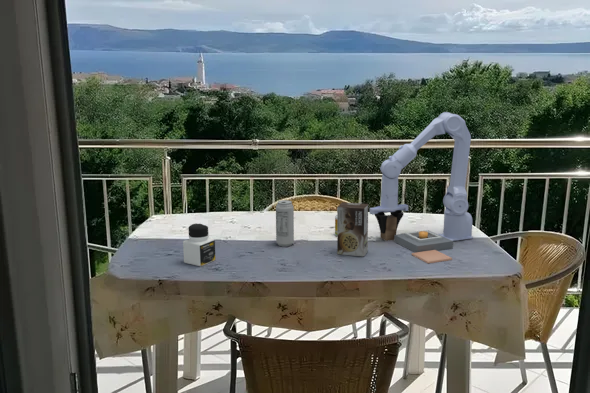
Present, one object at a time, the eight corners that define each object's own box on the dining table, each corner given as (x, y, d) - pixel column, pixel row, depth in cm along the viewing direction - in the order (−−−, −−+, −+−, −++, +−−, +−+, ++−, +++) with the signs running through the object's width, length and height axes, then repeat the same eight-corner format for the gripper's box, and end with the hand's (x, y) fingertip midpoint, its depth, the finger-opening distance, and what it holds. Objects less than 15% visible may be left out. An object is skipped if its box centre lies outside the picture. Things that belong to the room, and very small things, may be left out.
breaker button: (424, 237, 196) (424, 230, 195) (429, 239, 193) (429, 232, 192) (416, 238, 194) (417, 231, 194) (421, 241, 192) (422, 233, 191)
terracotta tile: (434, 251, 187) (434, 249, 187) (452, 259, 179) (452, 258, 179) (411, 254, 184) (411, 253, 184) (428, 263, 176) (428, 261, 176)
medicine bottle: (200, 267, 174) (199, 229, 171) (183, 262, 177) (181, 225, 175) (216, 260, 180) (214, 223, 177) (198, 256, 183) (197, 220, 181)
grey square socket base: (427, 237, 203) (428, 227, 202) (452, 248, 190) (453, 238, 190) (394, 241, 198) (394, 231, 197) (417, 253, 185) (417, 243, 184)
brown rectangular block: (389, 236, 204) (390, 214, 202) (396, 239, 200) (396, 217, 199) (380, 237, 202) (380, 215, 201) (386, 240, 199) (386, 218, 197)
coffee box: (368, 251, 188) (369, 203, 184) (363, 257, 182) (365, 208, 178) (341, 248, 191) (342, 201, 187) (336, 254, 185) (336, 206, 181)
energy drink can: (297, 244, 195) (297, 201, 192) (285, 248, 191) (284, 204, 188) (284, 240, 199) (284, 199, 196) (272, 244, 195) (272, 202, 192)
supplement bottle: (348, 237, 203) (349, 211, 200) (333, 237, 204) (334, 210, 201) (350, 233, 208) (351, 207, 206) (335, 232, 209) (336, 207, 207)
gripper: (401, 190, 204) (399, 226, 207) (365, 193, 199) (364, 231, 202) (412, 194, 198) (410, 231, 201) (375, 198, 192) (374, 236, 195)
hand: (388, 232), depth 201 cm, fingers closed on brown rectangular block, 4 cm apart
